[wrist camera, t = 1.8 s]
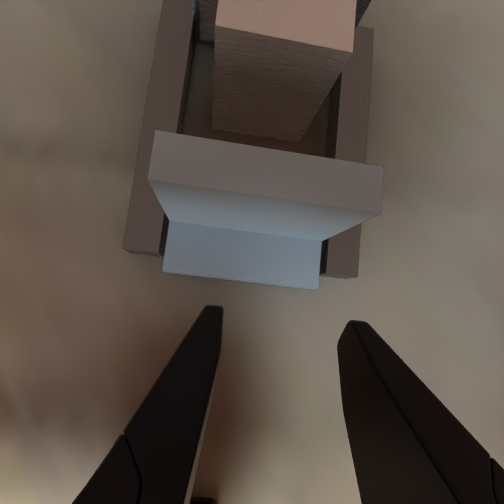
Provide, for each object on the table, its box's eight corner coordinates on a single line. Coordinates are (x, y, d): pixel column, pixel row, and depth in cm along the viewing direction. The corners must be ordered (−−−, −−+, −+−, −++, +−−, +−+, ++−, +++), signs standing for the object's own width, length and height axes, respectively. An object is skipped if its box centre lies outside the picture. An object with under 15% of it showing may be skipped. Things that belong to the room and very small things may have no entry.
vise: (344, 278, 23) (392, 272, 17) (130, 252, 21) (100, 236, 15) (360, 49, 25) (407, -26, 19) (169, 11, 24) (156, -84, 18)
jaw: (310, 289, 22) (377, 286, 14) (165, 272, 21) (135, 257, 13) (317, 207, 23) (384, 154, 14) (177, 187, 22) (157, 116, 13)
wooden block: (298, 143, 24) (352, 52, 15) (212, 129, 23) (214, 25, 14) (304, 77, 24) (360, -47, 16) (221, 61, 24) (229, -78, 15)
